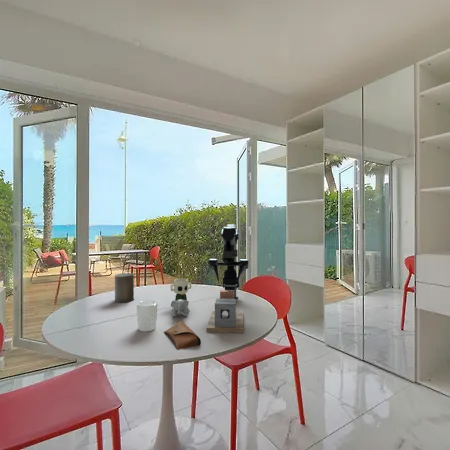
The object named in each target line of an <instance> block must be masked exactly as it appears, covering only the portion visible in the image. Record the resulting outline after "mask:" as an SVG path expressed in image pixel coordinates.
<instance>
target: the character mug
mask: <svg viewBox="0 0 450 450" xmlns="http://www.w3.org/2000/svg"><path fill="white" fill-rule="evenodd" d="M191 289H192V282H189V279H188V278H176V279H174V280H173V283H172V284H170V291H171V292H174V293H175V294H176V295H175V299H174V300H175V301H178V300H180V299H181V300H187V301H188V298H187V293H188V292H189V290H191Z"/></svg>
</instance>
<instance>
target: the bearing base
mask: <svg viewBox="0 0 450 450" xmlns="http://www.w3.org/2000/svg"><path fill="white" fill-rule="evenodd" d="M222 309H223V310H229V313H228V317H227V318H223V317H222ZM205 328H206V331H205V332H206V333H207V332H208V333H231V332H233V334H234V333H236V334H237V333H238V334H241V333H242V334H244V311H237V298H236V299H220V298H216V299H215V302H214V310H212V311H211V314H210V317H209V320H208V323H207V325H206V327H205Z"/></svg>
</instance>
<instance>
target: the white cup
mask: <svg viewBox="0 0 450 450" xmlns="http://www.w3.org/2000/svg"><path fill="white" fill-rule="evenodd" d="M136 317H137V318H136V319H137V330H138V331H140V332H145V333H146V332H151V331H154V330H155V329H156V328H157V320H158V318H157V317H158V301H157V300H152V299H151V300H141V301H138V302H137V303H136Z"/></svg>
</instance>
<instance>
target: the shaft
mask: <svg viewBox="0 0 450 450" xmlns="http://www.w3.org/2000/svg"><path fill="white" fill-rule="evenodd" d="M219 299H234V290H225V289H220V291H219ZM228 313H229V310H223V309H222V317H223V318H227V317H228Z"/></svg>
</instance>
